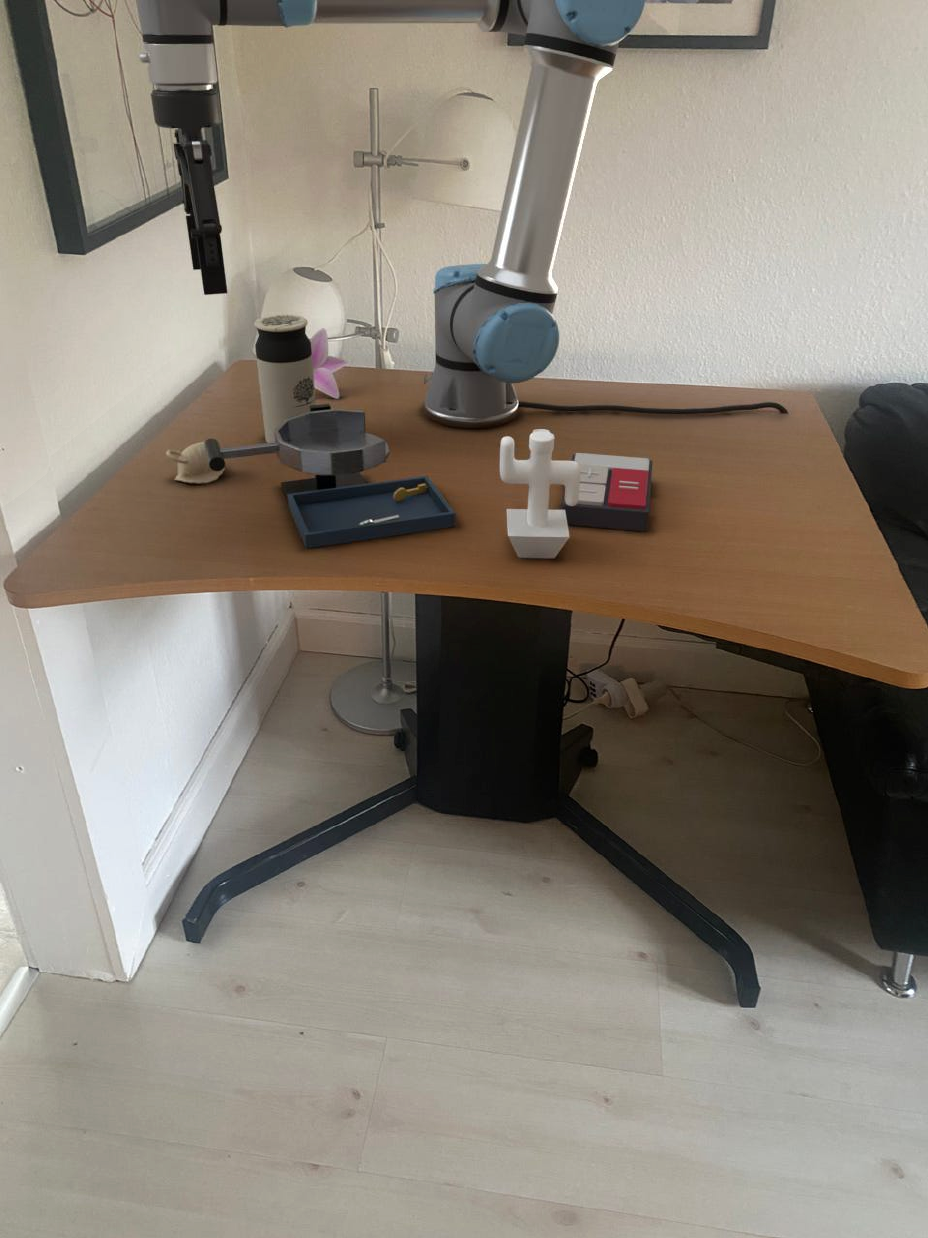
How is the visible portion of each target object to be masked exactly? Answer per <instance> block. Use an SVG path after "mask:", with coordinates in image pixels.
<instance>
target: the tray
mask: <svg viewBox="0 0 928 1238" xmlns="http://www.w3.org/2000/svg"><path fill="white" fill-rule="evenodd" d="M420 484H426V486H427V487H428V488H427V491H426V492H424V493H419V494H415V495H410V496H405V498H404V499H403V500H401V501H395V500H394V498H393V495H394V493H395V491H396V490H397V489H399V488H401V487H402V488H405V489H406V490H408V489H413V488H417V486H418V485H420ZM287 495H288V502H287V504H288V509H289V512H290V513H291V515H292V516H291V517H292V518H293V520H294V523H295V525H296V527H297V530H298V532H299V535H300V537H301V539H302V542H303V544H304V547H305V549H313V548H314V549H315V548H320V547H326V546H327V547H328V546H332V545H340V544H347V543H352V542H353V543H354V542H360V541H366V540H373V539H379V538H386V537H393V536H401V535H406V534H407V535H408V534H413V533H421V532H426V531H432V530H441V529H447V528H455V527H456V512H455V510H454V509H453V508H452V507H451V505H450V504H449V503H448V501H447V500H446V499H445V498H444V496H443V495H442V493H441V492H440V491H439V489H438V488H437V486H436V485H435V484H434V483H433V481H432V480H431V479H430V477H429V476H428V475H422V476H414V477H407V478H398V479H391V480H383V481H375V482H367V483H366V484H360V485H353V486H345V487H338V488H330V489H322V490H315V491H307V492H300V493H292V494H287ZM395 515H399V519H397V520H390V521H383V522H376V523H369V524H362V525H359V524H360V523H361V522H363V521H365V520H372V521H374V520H378V519H382V518H387V517H391V516H395Z"/></svg>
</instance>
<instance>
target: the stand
mask: <svg viewBox="0 0 928 1238" xmlns="http://www.w3.org/2000/svg"><path fill="white" fill-rule="evenodd" d="M309 408H310V412H312V411H321V410H330V409H332V406H331V404H330V403H321V404H316V405H312V406H309ZM365 480H366V479H364V477H363V475H362V473H361V472H358V473H353V474H346V475H314V477H311V478H303V479H295V480H288V481H281V482H280V485H281V490H282V492H283V496H284V497H285V501H286V503H288V495H287V494H292V493H300V492H307V491H315V490H322V489H330V488H338V487H345V486H353V485H360V484H367V482H366V481H365Z"/></svg>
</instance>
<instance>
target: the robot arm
mask: <svg viewBox="0 0 928 1238" xmlns="http://www.w3.org/2000/svg"><path fill="white" fill-rule="evenodd" d="M645 3H646V0H136V6H137V12H138V17H139V18H138V19H139V25H140V30H141V35H142V42H143V47H144V50H145V51H146V52H142V53H140V54H139V61H140V63H142V64H148V65H147V67H146V68H147V73H148V74H147V75H148V81H149V83H150V84H151V85H154V86H155V89H152V90H151V93H150V99H151V105H152V113H153V119H154V123H155V124H156V126H157V127H160V128H163V129H174V133H173V136H174V138H175V142H176V143H175V142H174V143H173V145H172V146H173V153H174V156H175V160H176V167H177V170H178V175H179V177H180V185H181V186H180V187H181V195H182V199H181V202H182V204H183V206H184V207H183V210H184V212H185V223H186V229H187V235H188V236H187V237H188V243H189V249H190V257H191V264H192V269H193V271H199V270H200V273H201V274H200V276H201V282H202V290H203V294H204V295H205V296H210V295H223V294H228V286H227V277H226V270H225V261H224V253H223V245H222V238H221V234H222V230H223V227H222V224H221V219H220V214H219V209H218V202H217V196H216V190H215V184H214V170H213V165H212V158H213V157H212V148H211V144H209V143H208V140H207V139H204V136H203V131H202V129H204V128H215V127H218V126H220V125H221V124H222V111H221V102H220V95H219V94H220V93H219V92H218V91H217V89H215V88H214V85H215V84H217V83H218V73H217V72H218V71H217V64H216V63H217V62H216V57H215V56H216V55H215V46H214V43H213V36H212V26H218V27H224V26H239V27H241V26H242V27H284V28H287V29H288V28H292V27H298V26H299V27H301V26H302V27H303V26H309V25H316V24H317V25H320V24H323V25H325V24H326V25H327V24H329V25H331V24H332V25H333V24H335V25H336V24H337V25H338V24H339V25H341V24H343V25H345V24H348V25H349V24H352V25H353V24H354V25H355V24H356V25H357V24H476V26H477V27H478V28H479V29H480V30H481V31H482V32H484V33H507V34H514V35H520V36H524V42H523V48H522V49H523V51H524V53H525V55H526V56H527V57H526V58H527V59H528V61H529V62H530V67H531V68H530V73H529V76H528V81H527V86H526V91H525V96H524V100H523V105H522V110H521V115H520V119H519V125H518V129H517V135H516V138H515V143H514V148H513V153H512V158H511V164H510V166H509V172H508V177H507V181H506V186H505V191H504V196H503V201H502V205H501V211H500V215H499V220H498V225H497V229H496V234H495V240H494V244H493V249H492V253H491V257H490V260H489V262H488V263H472V264H469V263H468V264H458V265H457V264H456V265H450V266H444V267H442V268H440V269H439V270H437V271H436V273H435V277H434V287H433V290H432V291H433V294H434V344H435V345H434V346H435V354H434V355H435V361H434V362H435V366H434V369H433V372H432V375H431V372H430V371H429V372H427V374H425V375H424V376H423V385H426V384H427V383H428V382H429V381H430V382H429V385H428V388H427V392H426V395H425V398H424V414H425V416H426V417H427V418H428V419H429V420H431V421H432V422H435V423H437V424H440V425H444V426H447V427H453V428H460V429H485V428H493V427H497V426H498V427H499V426H502V425H505V424H508V423H509V422H511V421H513V420H515V419H516V418H517V416H518V413H519V408H526V409H537V410H545V411H553V412H594V411H595V412H599V411H601V412H602V411H605V412H606V411H608V412H609V411H611V412H625V413H626V412H627V413H634V414H635V413H636V414H637V413H638V414H650V415H651V414H652V415H703V414H716V413H726V412H736V411H754V410H760V409H768V408H769V409H770V408H772V409H776V410H777V411H779V412H780V413H781V414H785V415H786V414H787V415H788V414H789V411H788V410H787V408H785V407H784V406H783V405H782V404H780V403H778V402H774V401H764V402H758V403H750V404H733V405H732V404H731V405H723V406H722V405H721V406H713V407H691V408H664V407H663V408H661V407H660V408H659V407H644V406H643V407H641V406H630V405H619V404H617V405H616V404H586V405H559V404H558V405H556V404H549V403H540V402H531V401H520V400H518V395H517V392H516V387H515V385H514V384H520V383H524V382H528V381H530V380H532V379H534V378H535V377H537V376H539V375H540V374H542V373H543V372H545V370H547V368H548V367H549V365H550V364H551V363H552V362H553V360H554V358H555V357H556V355H557V351H558V349H559V346H560V345H559V344H560V328H559V325H558V323H557V320H556V318H555V316H554V309H555V305H556V301H557V296H558V292H559V288H558V286H557V284H556V282H555V281H554V279H553V276H552V270H553V267H554V262H555V259H556V255H557V250H558V246H559V241H560V237H561V233H562V230H563V224H564V220H565V217H566V213H567V208H568V205H569V200H570V196H571V192H572V187H573V183H574V179H575V176H576V170H577V167H578V163H579V159H580V154H581V150H582V145H583V142H584V138H585V133H586V129H587V125H588V121H589V116H590V113H591V108H592V105H593V102H594V101H593V100H594V96H595V92H596V88H597V85H598V82H599V80H601V79H602V78H604V77H605V76H606V75H607V74H609V73H611V71H613V69H614V65H615V60H616V56H617V53H618V49H619V45H620V42H621V41H623V40H624V39H625V38H627V36H628V35H629V34H630V33H631V32H633V30H634V29H635V28H636V26H637V24H638V23H639V21H640V19H641V16H642V14H643V12H644V9H645Z"/></svg>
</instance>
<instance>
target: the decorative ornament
mask: <svg viewBox="0 0 928 1238" xmlns="http://www.w3.org/2000/svg"><path fill="white" fill-rule="evenodd" d="M204 443H205V441H200V442H197V443H193V444H190V445H189V446H187V447H186V448H185V449H183V451H182V452H181V451H179V450H176V449H168V450H167V451H166V452H165V453H166V456H167V457H168V458H169V459H170V460H172V461H174V462H176V463H177V474H176V476H175V478H174V481H179V482H183V483H188V484H198V485H199V484H209V483H211V482H215V481H216V480H218V479H219V477H220V476H222V475H223V473H224V472H225V470H226V469H225V468H224V469H223V470H221V471H213V470H212V469H211V468H210V466H209V463H208V459H207V456H206V452H205V449H204ZM174 455H176V456H174ZM177 456H178V457H177Z"/></svg>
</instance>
